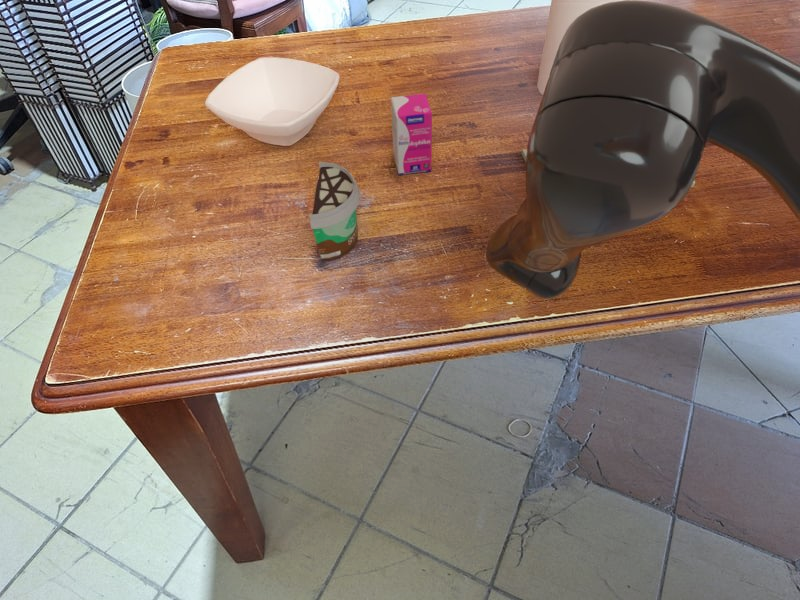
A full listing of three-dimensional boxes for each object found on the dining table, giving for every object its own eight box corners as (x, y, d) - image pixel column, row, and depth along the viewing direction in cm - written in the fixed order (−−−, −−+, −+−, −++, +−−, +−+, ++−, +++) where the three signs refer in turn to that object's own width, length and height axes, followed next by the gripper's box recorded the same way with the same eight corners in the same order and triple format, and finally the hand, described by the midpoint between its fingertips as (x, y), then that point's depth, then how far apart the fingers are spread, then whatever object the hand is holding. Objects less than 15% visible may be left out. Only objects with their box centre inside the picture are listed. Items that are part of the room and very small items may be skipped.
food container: (362, 268, 76) (355, 216, 68) (320, 269, 76) (308, 217, 68) (367, 211, 84) (361, 158, 76) (328, 211, 84) (318, 159, 76)
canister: (533, 70, 109) (550, -39, 93) (599, 69, 108) (628, -42, 92) (541, 106, 100) (562, -7, 85) (614, 105, 100) (648, -10, 84)
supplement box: (398, 177, 89) (395, 116, 80) (393, 156, 92) (389, 95, 83) (432, 172, 89) (432, 111, 80) (425, 152, 93) (425, 91, 84)
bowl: (205, 148, 96) (188, 106, 89) (269, 92, 108) (258, 51, 101) (300, 176, 90) (290, 132, 83) (358, 113, 101) (353, 70, 95)
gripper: (645, 173, 64) (682, 105, 73) (537, 139, 69) (584, 80, 78) (627, 219, 70) (663, 151, 79) (528, 185, 75) (572, 125, 84)
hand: (623, 116), depth 78 cm, fingers closed on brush, 3 cm apart
